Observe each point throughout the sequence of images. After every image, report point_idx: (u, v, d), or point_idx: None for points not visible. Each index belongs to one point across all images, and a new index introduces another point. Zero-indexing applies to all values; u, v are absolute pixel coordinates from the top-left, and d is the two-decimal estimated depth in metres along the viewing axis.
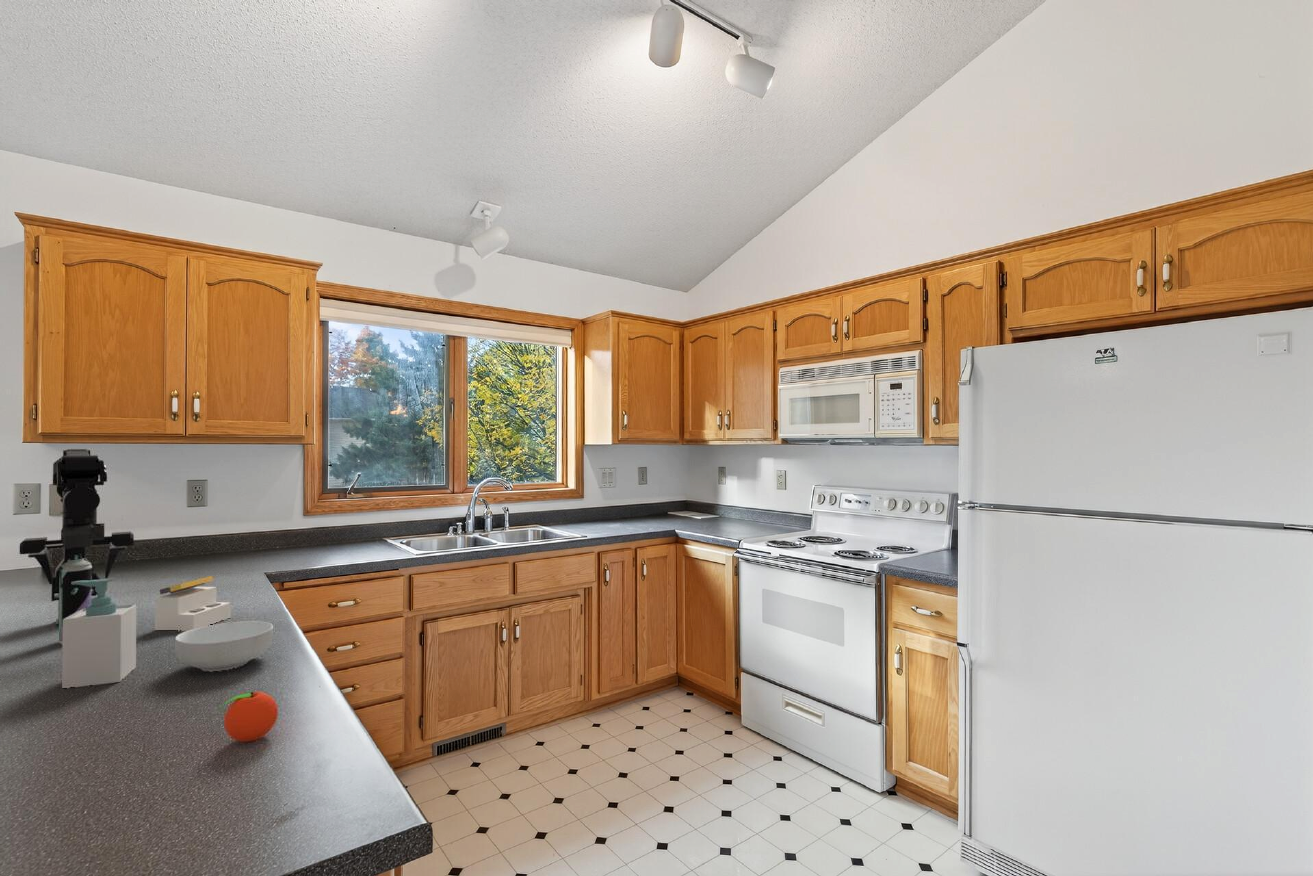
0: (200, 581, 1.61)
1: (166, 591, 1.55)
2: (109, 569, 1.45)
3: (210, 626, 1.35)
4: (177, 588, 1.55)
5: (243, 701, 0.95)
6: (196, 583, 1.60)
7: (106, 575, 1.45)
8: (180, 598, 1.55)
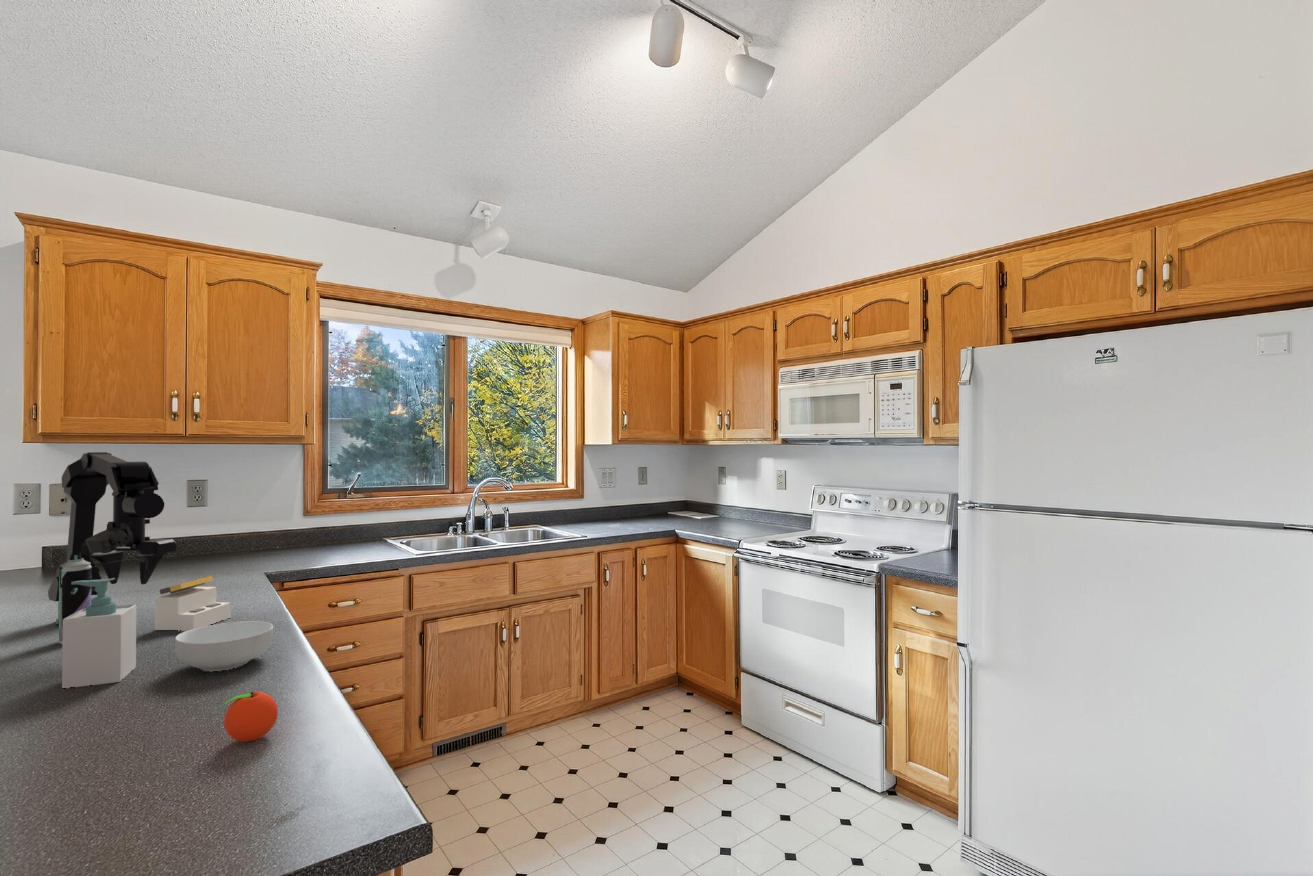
0: (200, 581, 1.61)
1: (166, 591, 1.55)
2: (142, 576, 1.45)
3: (210, 626, 1.35)
4: (177, 588, 1.55)
5: (243, 701, 0.95)
6: (196, 583, 1.60)
7: (141, 581, 1.45)
8: (180, 598, 1.55)
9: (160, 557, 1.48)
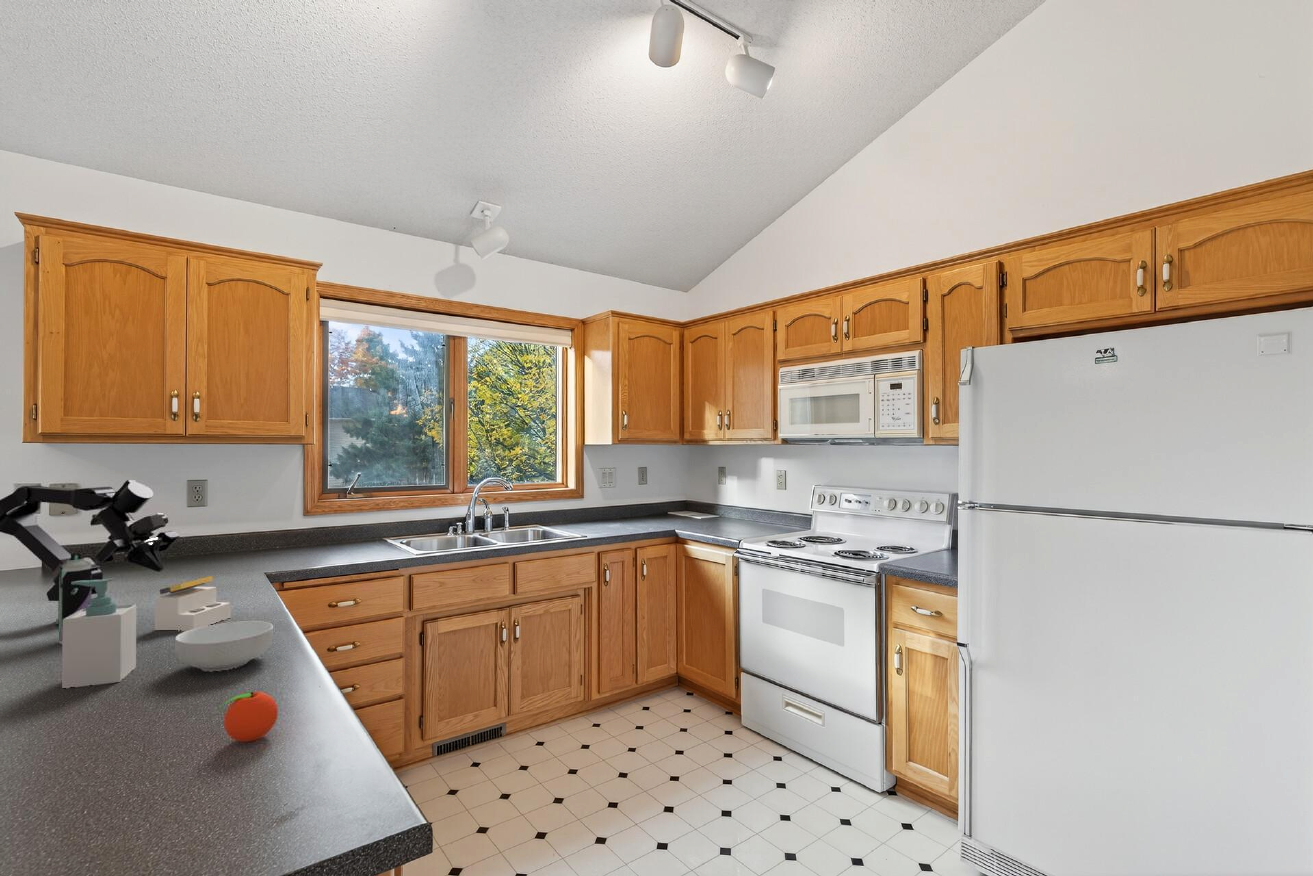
0: (200, 581, 1.61)
1: (166, 591, 1.55)
2: (160, 561, 1.61)
3: (210, 626, 1.35)
4: (177, 588, 1.55)
5: (243, 701, 0.95)
6: (196, 583, 1.60)
7: (161, 566, 1.61)
8: (180, 598, 1.55)
9: None
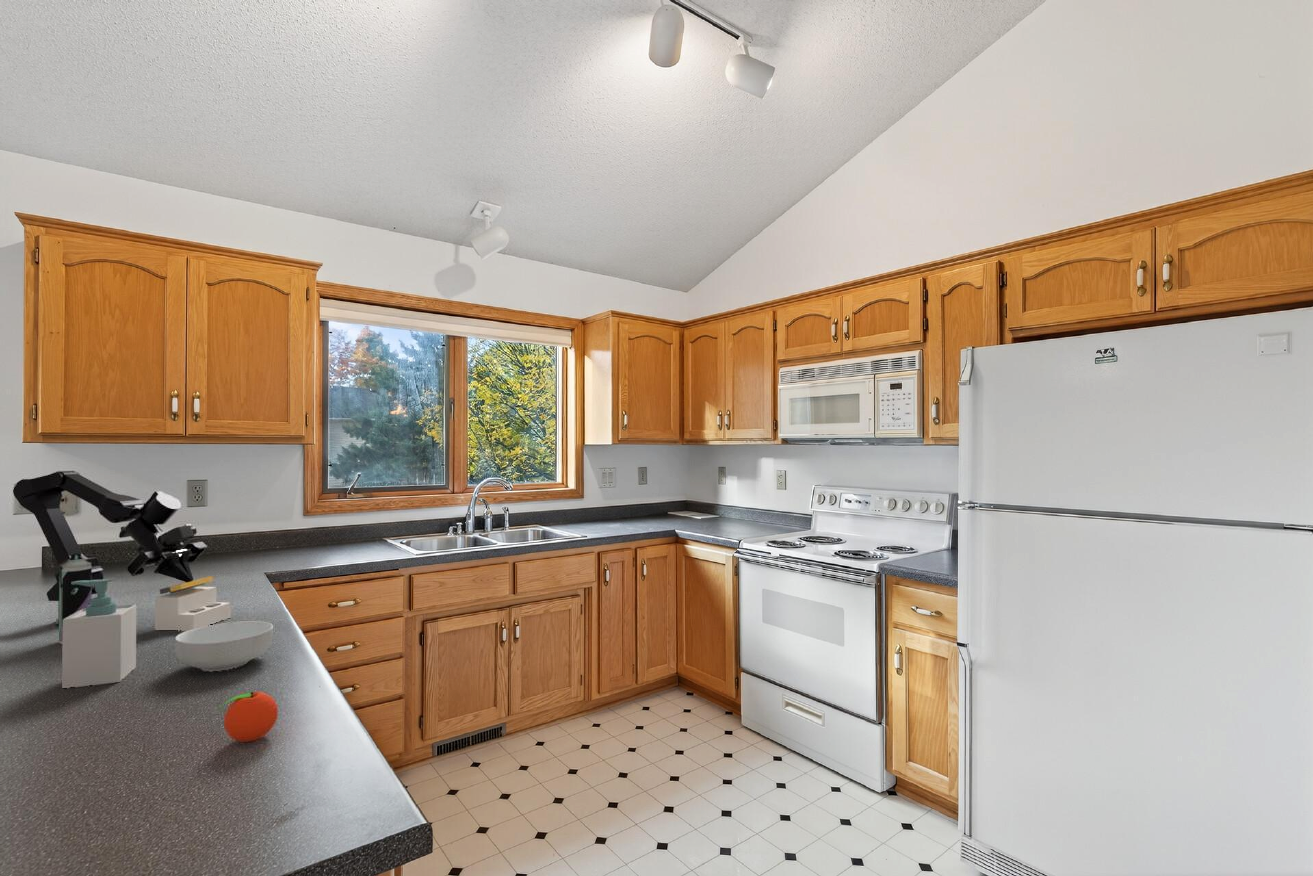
0: (200, 581, 1.61)
1: (166, 591, 1.55)
2: (190, 572, 1.61)
3: (210, 626, 1.35)
4: (177, 588, 1.55)
5: (243, 701, 0.95)
6: (196, 583, 1.60)
7: (191, 577, 1.60)
8: (180, 598, 1.55)
9: None
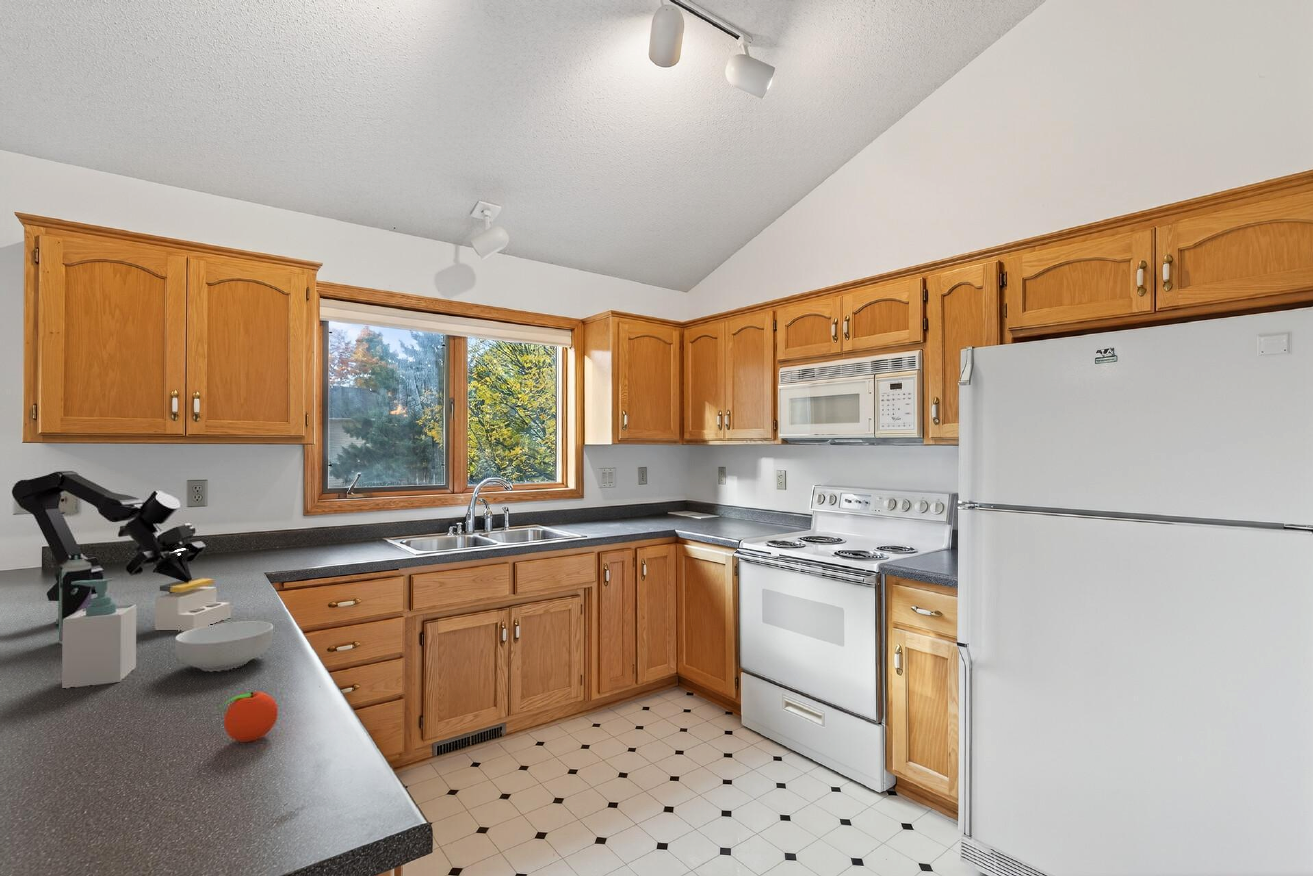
0: (200, 585, 1.61)
1: (166, 590, 1.55)
2: (189, 572, 1.61)
3: (210, 626, 1.35)
4: (177, 591, 1.55)
5: (243, 701, 0.95)
6: (196, 587, 1.60)
7: (190, 577, 1.60)
8: (180, 598, 1.55)
9: None
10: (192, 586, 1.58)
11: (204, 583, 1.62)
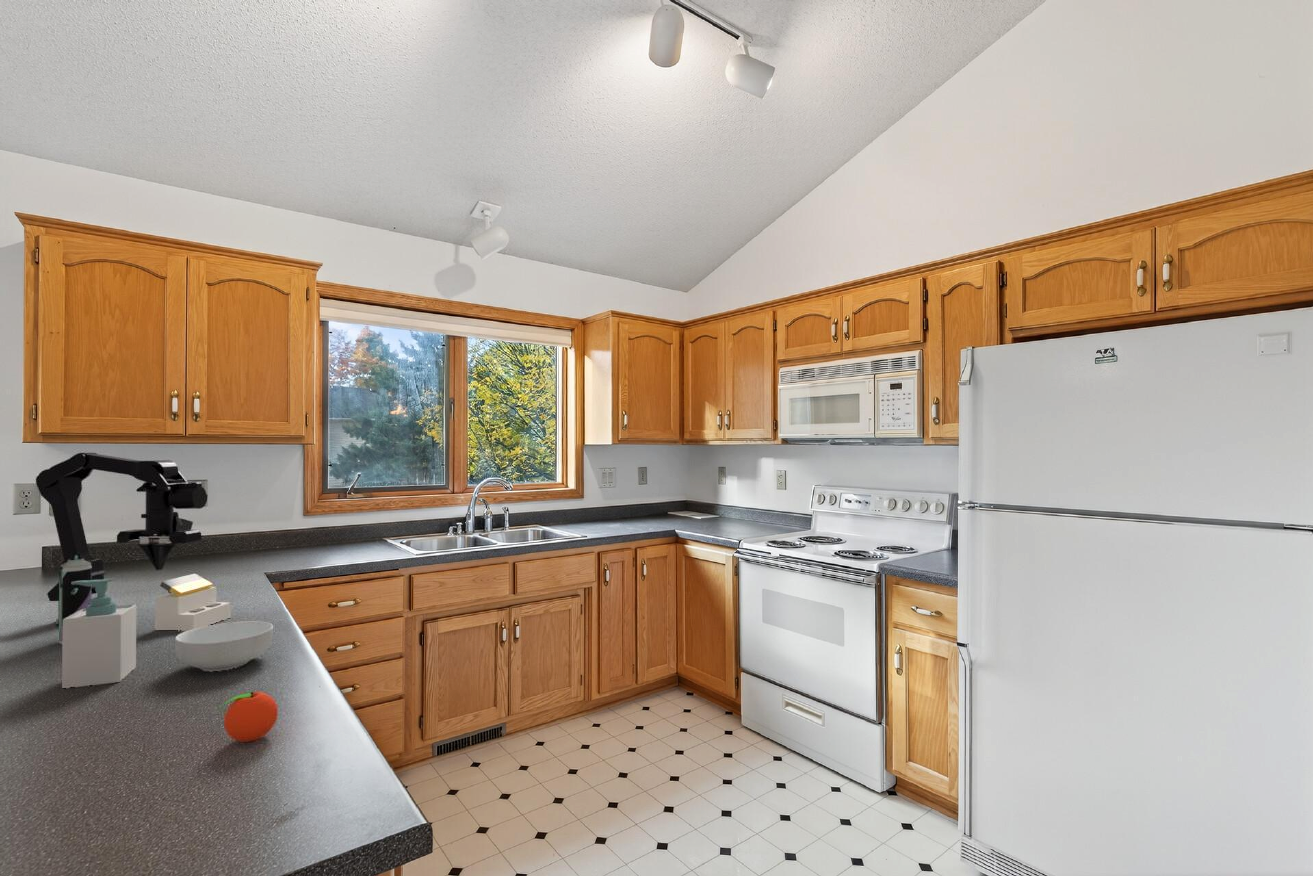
0: (199, 589, 1.61)
1: (166, 588, 1.55)
2: None
3: (210, 626, 1.35)
4: (176, 593, 1.55)
5: (243, 701, 0.95)
6: (194, 591, 1.60)
7: None
8: (180, 598, 1.55)
9: None
10: (191, 591, 1.58)
11: (203, 587, 1.62)
